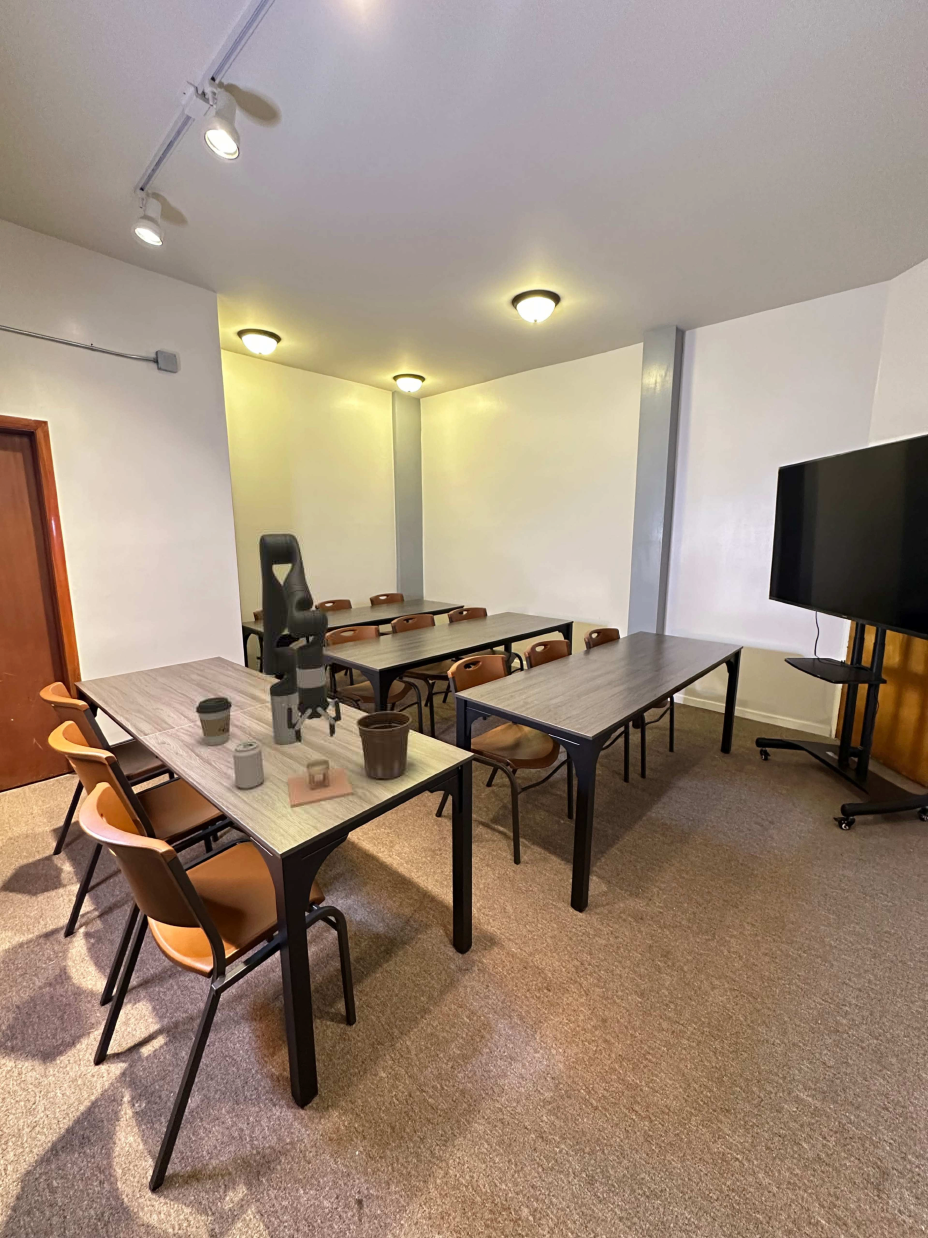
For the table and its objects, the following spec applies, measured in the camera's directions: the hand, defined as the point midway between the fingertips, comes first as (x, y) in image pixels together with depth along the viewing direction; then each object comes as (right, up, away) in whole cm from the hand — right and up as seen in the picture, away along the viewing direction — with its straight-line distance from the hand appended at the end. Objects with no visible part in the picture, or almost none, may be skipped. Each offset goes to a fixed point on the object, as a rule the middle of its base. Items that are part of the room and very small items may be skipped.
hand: (315, 738), depth 135 cm
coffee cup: (-46, -10, +36) cm, 60 cm away
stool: (0, -14, +2) cm, 14 cm away
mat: (0, -14, +2) cm, 15 cm away
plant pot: (+18, -13, +12) cm, 25 cm away
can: (-21, -15, +5) cm, 26 cm away
